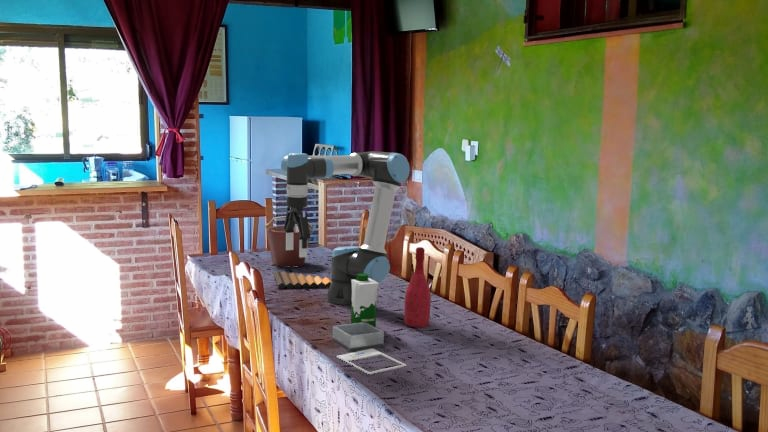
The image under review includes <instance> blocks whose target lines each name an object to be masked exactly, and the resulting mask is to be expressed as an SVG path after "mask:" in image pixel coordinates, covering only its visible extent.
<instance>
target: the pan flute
mask: <svg viewBox="0 0 768 432" xmlns="http://www.w3.org/2000/svg"><path fill="white" fill-rule="evenodd" d="M272 273H273V277H274V280H275V279H276V280H275V282H276V285H277V288H278V289H279V290H285V289H288V290H290V289H291V290H292V289H295V290H296V289H301V288H302V289H309V288H310V289H317V288H318V289H325V288H326V289H329V287H330V285H331V278H328V277H327V276H325V277H324V278H322V277H320V276H319V275H316V276H315V277H314V276H312V275H311V274H308V275H307V276H305V275H304V274H302V273H300V274H298V275H297V274H296V273H295V272H292V273H290V274H289V273H288V272H287V271H284V272H282V273H281V271H279V270H275V271H274V272H272Z"/></svg>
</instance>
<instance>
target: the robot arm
mask: <svg viewBox="0 0 768 432" xmlns="http://www.w3.org/2000/svg"><path fill="white" fill-rule="evenodd" d="M280 169H281V170H282V173H284V174H286V187H285V190H286V214H285V216H286V218H284V224H283V226H284V230H285V232H286V250H293V235H294V233H291V232H294V230H293V229H294V226H298V230H299V234H300V238H299V240H300V248H299V257H306V258H308V248H307V239H308V238H309V239H311V232H310V231H309V228H310V226H309V225H308V222H309V221H308V212H307V211H304V208H307V207H308V189H309V188H308V187H309V185H308V183H309V180H311V179H313V180H315V179H326V178H327V179H328V178H330V177H332V176H333V175H350V176H352V177H363V178H368V179H371V180H372V183H373V185H374V193H373V198H372V202H371V207H370V212H369V216H368V222H367V225H366V231H365V235H364V240H363V243H362V245H360V246H357V245H355V246H354V245H350V246H349V245H348V246H337V247H335V248H333V250H332V255H331V278H330V281H331V285H330V287H329V288H328V291H327V294H326V302H328V303H331V304H334V305H343V306H345V305H347V306H348V305H349V306H351V304H352V282H351V280H354V279H357V274H360V273H364V274H368V278H370V279H372V280H374V281H376V282H377V283H379V284H380V283H382V282H383V281H384V280H385V279H386V278H387V277H388V275H389V273H390V270H391V269H390V268H391V264H390V260H389V259H388V258H387V255H388V254H387V250H386V249H385V245H386V240H387V237H388V231H389V226H390V221H391V216H392V211H393V206H394V202H395V196H396V192H397V191H398V190H399V189H401V185H402V184H403V183H404V182H406V181H407V179H408V178H409V176H410V171H411V170H410V163H409V161H408V158H407V157H406V156H405V155H403V154H402V153H398V152H394V151H393V152H389V151H388V152H387V151H386V152H385V151H377V150H376V151H375V150H374V151H365V152H353V153H351V154H349V155H309V154H308V153H304V152H303V153H300V152H290V153H288V155H285V156H284V157H282V159H281V161H280ZM286 226H287V227H286Z"/></svg>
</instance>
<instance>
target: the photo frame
mask: <svg viewBox="0 0 768 432" xmlns="http://www.w3.org/2000/svg"><path fill="white" fill-rule="evenodd" d="M377 356H382V357H384V358H386V359H388V360H389V361H390V360H391V361H393V362H394V363H396V364H398V365H395V366H390V367H387V368H381V369H376V370H373V371H369V370H366V369H364V368H362V367H360V366H358V365H356V364H355V363H353V361H352V360H354V361H358V359H359V360H364V359H367V358H373V357H377ZM336 358H337V359H339V360H340V359H341V361H342V360H343V362H344V361H345V362H344V363H346V362H347V363H346V364H348V363H349V364H348V365H350V364H351V365H350V366H352V365H353V366H354V367H353V366H352V367H353V368H355V367H356V368H355V369H357V368H358V369H357V370H359V369H360V370H359V371H361V370H362V371H361V372H363V371H364V372H363V373H365V374H366V373H367V374H366V375H368V374H370V375H373V374H374V373H375V374H378V372H379V373H382V372H387V371H390V370H391V371H392V370H396V369H400V368H404V366H405V367H407V364H406V363H404V362H402V361H399V360H397V359H396V358H393V357H392V356H389V355H387V354H385V353H383V352H381V351H379V350H376V349H375V348H368V349H362V350H357V351H352V352H349V353H343V354H340V355H339V354H338V355H336ZM363 358H364V359H363ZM349 361H350V362H349ZM400 364H401V365H400Z"/></svg>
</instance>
